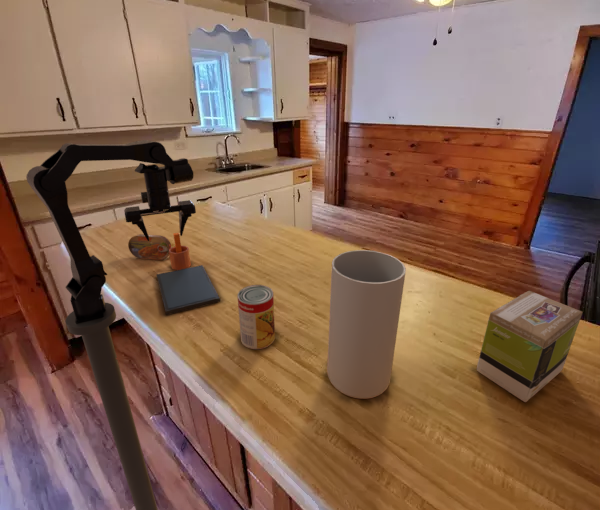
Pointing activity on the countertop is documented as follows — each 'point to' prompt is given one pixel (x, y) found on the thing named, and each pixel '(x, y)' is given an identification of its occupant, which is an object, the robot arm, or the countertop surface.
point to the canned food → (256, 316)
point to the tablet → (186, 289)
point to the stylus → (177, 242)
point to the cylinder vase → (363, 321)
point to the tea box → (527, 343)
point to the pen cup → (180, 258)
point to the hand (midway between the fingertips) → (165, 238)
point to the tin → (149, 247)
